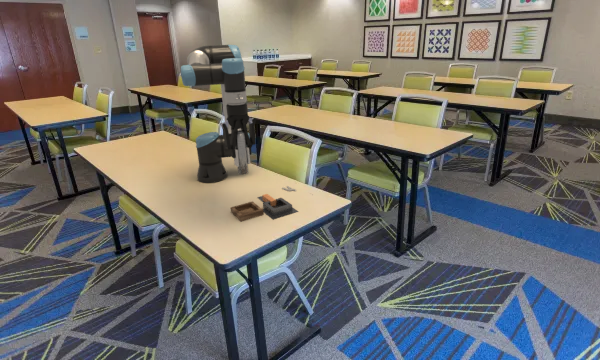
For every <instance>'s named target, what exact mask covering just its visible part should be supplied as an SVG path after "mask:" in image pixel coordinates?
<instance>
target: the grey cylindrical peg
mask: <svg viewBox="0 0 600 360" xmlns="http://www.w3.org/2000/svg"><path fill="white" fill-rule="evenodd" d="M236 149H237V150H238V159H239V166H238V167H237V174H238V175H241V176H242V175H247V174H249V164H248V161H247V150H246V139H245V133H244V131H243V130H238V132H237V137H236Z"/></svg>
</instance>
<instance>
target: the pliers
mask: <svg viewBox="0 0 600 360" xmlns="http://www.w3.org/2000/svg"><path fill="white" fill-rule="evenodd" d="M281 189H282V190H284V191H286V192H297V189H296V188H292V187H291V186H288V185H286V187H281ZM309 194H310V195H312V196H313V195H314V194H312V193H310V192H309Z"/></svg>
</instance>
